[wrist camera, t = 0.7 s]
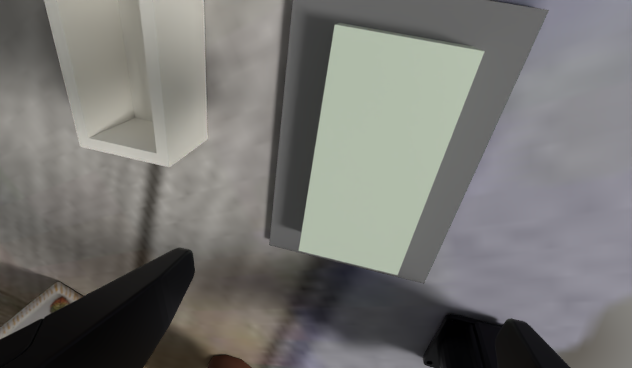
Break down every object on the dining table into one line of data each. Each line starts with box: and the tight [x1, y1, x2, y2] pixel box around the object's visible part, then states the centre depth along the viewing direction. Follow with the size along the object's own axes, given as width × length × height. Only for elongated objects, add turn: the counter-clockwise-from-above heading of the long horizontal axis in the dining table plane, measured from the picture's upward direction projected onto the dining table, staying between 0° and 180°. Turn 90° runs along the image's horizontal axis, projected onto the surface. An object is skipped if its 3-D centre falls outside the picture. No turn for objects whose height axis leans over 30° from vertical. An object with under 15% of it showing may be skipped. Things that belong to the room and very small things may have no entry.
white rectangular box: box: [44, 0, 208, 167], centre depth 17 cm, size 11×6×4 cm, turn 171°
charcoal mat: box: [269, 0, 549, 283], centre depth 20 cm, size 18×12×1 cm, turn 171°
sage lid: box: [299, 23, 485, 275], centre depth 19 cm, size 14×7×2 cm, turn 171°
